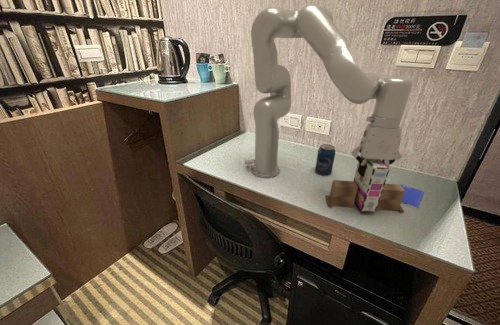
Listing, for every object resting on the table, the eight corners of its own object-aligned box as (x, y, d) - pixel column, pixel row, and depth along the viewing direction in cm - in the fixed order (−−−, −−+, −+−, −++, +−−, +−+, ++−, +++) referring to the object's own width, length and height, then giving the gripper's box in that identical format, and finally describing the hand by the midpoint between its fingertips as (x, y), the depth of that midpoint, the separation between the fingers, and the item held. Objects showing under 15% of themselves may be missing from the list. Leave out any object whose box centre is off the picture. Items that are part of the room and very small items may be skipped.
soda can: (313, 174, 102) (317, 148, 97) (316, 167, 108) (320, 142, 102) (330, 177, 99) (335, 151, 94) (332, 170, 105) (337, 145, 100)
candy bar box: (376, 212, 78) (391, 168, 70) (361, 212, 78) (373, 168, 70) (363, 193, 88) (374, 152, 80) (349, 192, 88) (359, 152, 80)
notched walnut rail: (328, 207, 82) (332, 187, 78) (325, 197, 87) (328, 178, 83) (403, 213, 79) (410, 193, 76) (395, 202, 85) (402, 183, 81)
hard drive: (400, 183, 94) (391, 197, 86) (424, 191, 89) (418, 206, 81) (398, 186, 95) (390, 200, 86) (423, 195, 90) (416, 210, 82)
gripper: (358, 124, 67) (345, 179, 75) (423, 127, 65) (402, 183, 74) (351, 116, 74) (340, 168, 82) (410, 119, 72) (392, 171, 80)
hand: (370, 174), depth 78 cm, fingers closed on candy bar box, 5 cm apart
